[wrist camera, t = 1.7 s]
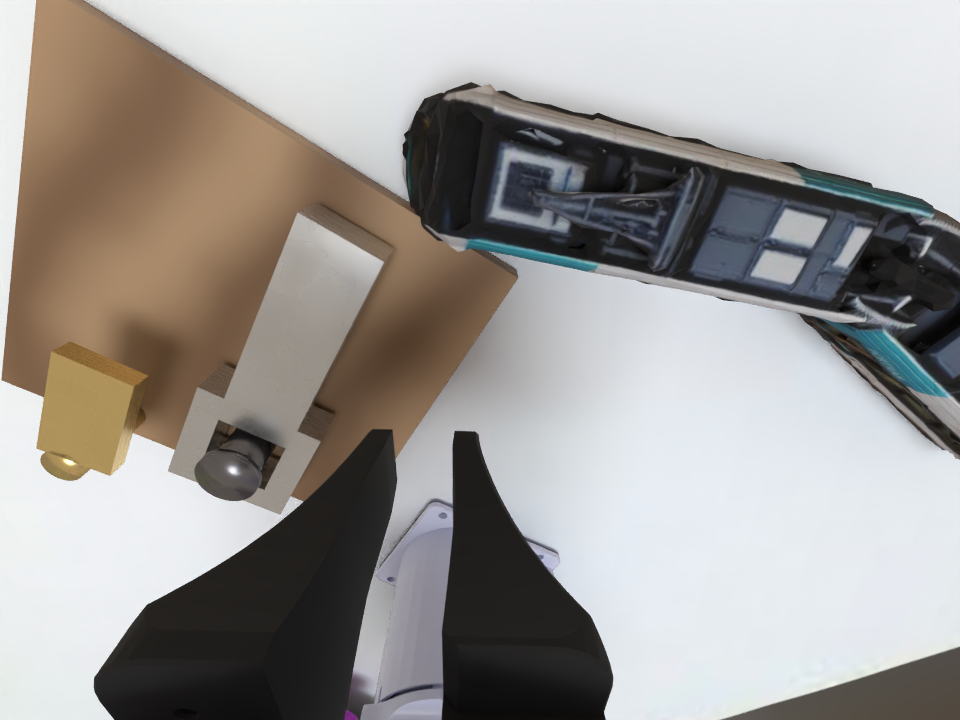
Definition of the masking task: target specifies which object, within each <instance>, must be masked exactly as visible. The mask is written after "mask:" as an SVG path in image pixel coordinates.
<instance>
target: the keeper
mask: <svg viewBox="0 0 960 720" xmlns="http://www.w3.org/2000/svg"><path fill="white" fill-rule="evenodd" d="M148 377H149V376H148V375H146V374H144V373H141V372H139V371H137V370H135V369H132V368H130V367H128V366H125V365H123V364H121V363H119V362H116V361H114V360H112V359H109V358H107V357H105V356H102V355H100V354H98V353H96V352H93V351H91V350H89V349H86V348H84V347H82V346H80V345H77V344H75V343H73V342H68V343H66V344H64V345H62V346H61V347H59V348H57V349H55V350H53V351H51V356H50V362H49V369H48V375H47V382H46V389H45V395H44V402H43V408H42V415H41V422H40V428H39V435H38V442H37V449H39V450H42V451H45V453H44V454H43V455H42V456H41V464H42V466H43V467H44V469H45V470H46V471H47V472H49V473H50V474H51V475H53V476H55V477H57V478H60V479H63V480H69V481H73V480H77V479H79V478H81V477H82V476H83V475H84V474H85V473H86V472H88V471H89V470H90V469H93V470H96V471H99V472H101V473H104V474H107V475H109V476H110V475H112V474H113V473H114V472H115V471H116V470H117V469H118V468H119V467H120V466H121V465H122V464H123V463H124V462H125V458H126V454H127V451H128V447H129V444H130V440H131V437H132V433H133V432H134V431H135V430H136V429H137V428H138V427H140V426H141V425H142V424H143V423H144V422H145V420H146V415H145V412H144V410H143V409H142V408H141V407H140V405H141V402H142V398H143V395H144V391H145V388H146V384H147V381H148Z"/></svg>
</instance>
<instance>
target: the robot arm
mask: <svg viewBox="0 0 960 720" xmlns="http://www.w3.org/2000/svg"><path fill="white" fill-rule="evenodd" d="M396 484H397V473H396V462H395V450H394V438H393V429H372V430H371V431H370V432H369V433H368V434H367V435H366V436H365V437H364V439H363V440H362V441H361V442H360V443H359V445H358V446H357V447H356V448H355V449H354V450H353V452H352V453H351V454H350V455H349V456H348V457H347V458H346V460H345V461H344V462H343V463H342V464H341V465H340V466H339V467H338V468H337V469H336V470H335V471H334V473H333V474H332V475H331V476H330V477H329V478H328V479H327V480H326V481H325V482H324V483H323V484H322V485H321V486H320V487H319V488H318V489H317V490H316V491H315V492H314V493H312V494H311V495H310V496H309V497H308V498H307V499H306V500H305V501H304V502H303V503H302V504H301V505H300V506H298V507H297V508H296V509H295V510H294V511H293V512H291V513H290V514H289V515H288V516H287V517H285V518H284V519H283V520H282V521H281V522H279V523H278V524H277V525H276V526H274V527H273V528H272V529H270V530H269V531H268V532H266V533H265V534H263V535H262V536H261V537H259V538H258V539H257V540H255V541H254V542H252V543H251V544H250V545H248V546H247V547H245V548H244V549H242V550H241V551H239V552H238V553H236V554H235V555H233V556H232V557H230V558H229V559H227V560H226V561H224V562H222V563H221V564H219V565H218V566H216V567H214V568H213V569H211V570H209V571H208V572H206V573H204V574H203V575H201V576H199V577H198V578H196V579H194V580H192V581H190V582H189V583H187V584H185V585H183V586H181V587H179V588H178V589H176V590H174V591H172V592H170V593H168V594H167V595H165V596H163V597H161V598H159V599H157V600H155V601H153V602H151V603H149V604H148V605H146V607H145V608H144V609H143V610H142V612H141V613H140V614H139V616H138V617H137V618H136V619H135V621H134V622H133V623H132V624H131V626H130V627H129V629H128V630H127V632H126V633H125V634H124V636H123V637H122V639H121V640H120V642H119V643H118V645H117V646H116V647H115V649H114V650H113V652H112V653H111V655H110V656H109V657H108V659H107V660H106V662H105V663H104V665H103V666H102V667H101V669H100V670H99V672H98V673H97V675H96V676H95V677H94V690H95V693H96V695H97V697H98V699H99V701H100V702H101V704H102V705H103V706H104V707H105V709H106V710H107V711H108V712H109V714H110V715H111V716H112V717H113V719H114V720H344V719H345V713H346V707H347V701H348V695H349V690H350V684H351V678H352V672H353V667H354V661H355V656H356V651H357V645H358V640H359V635H360V629H361V624H362V619H363V614H364V609H365V604H366V599H367V595H368V591H369V587H370V584H371V580H372V577H373V573H374V570H375V567H376V563H377V560H378V557H379V553H380V550H381V547H382V543H383V540H384V537H385V533H386V530H387V526H388V523H389V520H390V516H391V513H392V507H393V502H394V496H395V490H396ZM442 513H445V514H442ZM559 563H560V558H559V555H558V554H556V553H554V552H552V551H549V550H547V549H545V548H542V547H540V546H538V545H536V544H533V543H531V542H529V541H526V539H525V538H524V536H523V535H522V534H521V532H520V531H519V529H518V527H517V526H516V524H515V523H514V521H513V519H512V518H511V516H510V514H509V512H508V511H507V509H506V507H505V505H504V503H503V501H502V499H501V497H500V496H499V494H498V492H497V489H496V487H495V485H494V483H493V481H492V478H491V476H490V473H489V471H488V469H487V466H486V463H485V460H484V457H483V454H482V451H481V447H480V442H479V435H478V434H477V433H476V432H471V431H455V433H454V439H453V508H451V507H448V506H446V505H444V504H441V503H439V502H433V503H430V504H429V505H428V506H427V508H426V509H425V510H424V512H423V513H422V514H421V515H420V517H419V518H418V519H417V521H416V522H415V523H414V524H413V526H412V527H411V528H410V529H409V531H408V532H407V533H406V535H405V536H404V537H403V538H402V540H401V541H400V542H399V544H398V545H397V546H396V547H395V549H394V550H393V551H392V553H391V554H390V555H389V556H388V558H387V559H386V560H385V561H384V563H383V564H382V565H381V567H380V568H379V569H378V572H377V578H378V579H379V580H381V581H384V582H386V583H389V584H392V585H395V586H396V589H395V594H394V599H393V605H392V610H391V615H390V620H389V626H388V631H387V636H386V642H385V647H384V652H383V657H382V663H381V668H380V673H379V679H378V684H377V689H376V694H375V700H374V704H365V705H364V706H363V709H362V714H361V719H360V720H606V719H605V715H604V710H605V707H606V704H607V701H608V698H609V695H610V692H611V689H612V686H613V674H612V670H611V666H610V662H609V659H608V656H607V653H606V651H605V648H604V645H603V643H602V640H601V638H600V635H599V633H598V631H597V629H596V627H595V624H594V622H593V620H592V618H591V616H590V615H589V614H588V613H587V612H586V611H585V610H584V609H583V608H582V606H581V605H580V604H579V603H578V602H577V601H576V600H575V599H574V598H573V597H572V596H571V595H570V594H569V593H568V592H567V591H566V590H565V589H564V588H563V586H562V585H561V584H560V583H559V582H558V581H557V579H556V578H555V577H554V574H553V569H554V568H555V567H557V566H558V565H559Z"/></svg>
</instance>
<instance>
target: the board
mask: <svg viewBox="0 0 960 720" xmlns="http://www.w3.org/2000/svg"><path fill="white" fill-rule="evenodd" d="M317 203H318V204H320V205H322V206H323V207H325V208H327V209H328V210H330V211H332V212H334V213H335V214H337V215H339V216H340V217H342V218H344V219H346V220H347V221H349V222H351V223H352V224H354V225H356V226H357V227H359V228H361V229H363V230H364V231H366V232H368V233H369V234H371V235H373V236H375V237H376V238H378V239H380V240H381V241H383V242H385V243H386V244H388V245H390V246H392V247H393V248H394V250H393V252H392V254H391V256H390V258H389V260H388V262H387V263H386V265H385V267H384V269H383V271H382V273H381V275H380V277H379V279H378V281H377V283H376V285H375V287H374V289H373V290H372V292H371V294H370V296H369V298H368V300H367V302H366V304H365V306H364V308H363V310H362V312H361V314H360V316H359V317H358V319H357V321H356V323H355V325H354V327H353V329H352V331H351V333H350V335H349V337H348V339H347V341H346V343H345V344H344V346H343V348H342V350H341V352H340V354H339V356H338V358H337V360H336V362H335V364H334V366H333V368H332V370H331V371H330V373H329V375H328V377H327V379H326V381H325V383H324V385H323V387H322V389H321V391H320V393H319V395H318V397H317V398H316V400H315V402H314V404H313V405H314V406H316V407H318V408H320V409H323V410H325V411H327V412H329V413H331V414H333V415H334V417H333V419H332V421H331V423H330V425H329V427H328V429H327V431H326V433H325V434H324V436H323V438H322V440H321V442H320V444H319V446H318V448H317V449H316V451H315V453H314V455H313V456H312V458H311V460H310V462H309V464H308V465H307V467H306V469H305V471H304V473H303V474H302V476H301V478H300V480H299V482H298V483H297V485H296V487H295V489H294V491H293V492H292V494H291V496H292V497H294V498H297V499H299V500H302V501H305V500H306V499H307V498H308V497H309V496H310V495H311V494H312V493H314V492H315V491H316V490H317V489H318V488H319V487H320V486H321V485H322V484H323V483H324V482H325V481H326V480H327V479H328V478H329V477H330V476H331V475H332V474H333V473H334V471H335V470H336V469H337V468H338V467H339V466H340V465H341V464H342V463H343V462H344V461H345V460H346V458H347V457H348V456H349V455H350V454H351V453H352V452H353V450H354V449H355V448H356V447H357V446H358V445H359V443H360V442H361V441H362V440H363V439H364V437H365V436H366V435H367V434H368V433H369V432H370V431H371V430H372V429H393V438H394V450H395V458H396V457H397V455H398V454H399V452H400V451H401V449H402V448H403V447H404V445H405V444H406V442H407V441H408V439H409V438H410V436H411V435H412V433H413V432H414V430H415V429H416V427H417V426H418V424H419V423H420V422H421V420H422V419H423V417H424V416H425V414H426V413H427V411H428V410H429V408H430V407H431V405H432V404H433V402H434V401H435V399H436V398H437V397H438V395H439V394H440V392H441V391H442V389H443V388H444V386H445V385H446V383H447V382H448V380H449V379H450V377H451V376H452V374H453V373H454V372H455V370H456V369H457V367H458V366H459V364H460V363H461V361H462V360H463V358H464V357H465V355H466V354H467V352H468V351H469V349H470V348H471V346H472V345H473V344H474V342H475V341H476V339H477V338H478V336H479V335H480V333H481V332H482V330H483V329H484V327H485V326H486V324H487V323H488V321H489V320H490V319H491V317H492V316H493V314H494V313H495V311H496V310H497V308H498V307H499V305H500V304H501V302H502V301H503V299H504V298H505V296H506V295H507V294H508V292H509V291H510V289H511V288H512V286H513V285H514V283H515V282H516V280H517V279H518V275H517V271H516V269H514V268H513V267H511V266H510V265H508V264H506V263H505V262H503V261H502V260H500V259H498V258H497V257H495V256H494V255H492V254H490V253H489V252H487V251H485V250H481V249H467V250H464V251H460V252H457V251H456V250H455V249H453V248H452V247H450V246H449V245H448V244H447V243H445V242H444V241H437V240H436V239H435V238H434V237H433V236H431V235H430V234H429V233H428V232H427V231H426V230H424V229H423V227H422V225H421V219H420V216H418V215H416V214H415V210H414V208H412V207H411V206H410V203H408V202H407V201H405V200H403V199H402V198H400V197H399V196H397V195H395V194H394V193H392V192H391V191H389V190H387V189H386V188H384V187H382V186H381V185H379V184H378V183H376V182H374V181H373V180H371V179H370V178H368V177H366V176H365V175H363V174H362V173H360V172H358V171H357V170H355V169H353V168H352V167H350V166H349V165H347V164H345V163H344V162H342V161H341V160H339V159H337V158H336V157H334V156H333V155H331V154H329V153H328V152H326V151H325V150H323V149H321V148H320V147H318V146H316V145H315V144H313V143H312V142H310V141H308V140H307V139H305V138H304V137H302V136H300V135H299V134H297V133H296V132H294V131H292V130H291V129H289V128H287V127H286V126H284V125H283V124H281V123H279V122H278V121H276V120H275V119H273V118H271V117H270V116H268V115H267V114H265V113H263V112H262V111H260V110H259V109H257V108H255V107H254V106H252V105H250V104H249V103H247V102H246V101H244V100H242V99H241V98H239V97H238V96H236V95H234V94H233V93H231V92H230V91H228V90H226V89H225V88H223V87H221V86H220V85H218V84H217V83H215V82H213V81H212V80H210V79H209V78H207V77H205V76H204V75H202V74H201V73H199V72H197V71H196V70H194V69H193V68H191V67H189V66H188V65H186V64H184V63H183V62H181V61H180V60H178V59H176V58H175V57H173V56H172V55H170V54H168V53H167V52H165V51H164V50H162V49H160V48H159V47H157V46H155V45H154V44H152V43H151V42H149V41H147V40H146V39H144V38H143V37H141V36H139V35H138V34H136V33H135V32H133V31H131V30H130V29H128V28H127V27H125V26H123V25H122V24H120V23H118V22H117V21H115V20H114V19H112V18H110V17H109V16H107V15H106V14H104V13H102V12H101V11H99V10H98V9H96V8H94V7H93V6H91V5H89V4H88V3H86V2H85V1H83V0H36V10H35V21H34V32H33V43H32V54H31V64H30V75H29V86H28V97H27V108H26V119H25V130H24V141H23V152H22V162H21V173H20V184H19V195H18V206H17V217H16V228H15V239H14V250H13V261H12V271H11V282H10V293H9V304H8V315H7V326H6V337H5V348H4V359H3V369H2V381H5V382H7V383H10V384H12V385H15V386H17V387H20V388H22V389H25V390H27V391H30V392H32V393H35V394H37V395H40V396H42V397H44V395H45V389H46V382H47V375H48V369H49V362H50V356H51V351H53V350H55V349H57V348H59V347H61V346H62V345H64V344H66V343H68V342H73V343H75V344H77V345H80V346H82V347H84V348H86V349H89V350H91V351H93V352H96V353H98V354H100V355H102V356H105V357H107V358H109V359H112V360H114V361H116V362H119V363H121V364H123V365H125V366H128V367H130V368H132V369H135V370H137V371H139V372H141V373H144V374H146V375H148V376H149V377H148V381H147V384H146V388H145V391H144V395H143V398H142V402H141V405H140V407H141V408H142V409H143V410H144V412H145V415H146V420H145V422H144V423H143V424H142V425H141V426H140V427H138V428H137V429H136V430H135V431H134V432H133V433H135V434H137V435H140V436H142V437H145V438H147V439H150V440H152V441H155V442H157V443H160V444H162V445H165V446H167V447H170V448H172V449H176V446H177V444H178V441H179V438H180V435H181V432H182V429H183V427H184V424H185V421H186V418H187V415H188V412H189V410H190V407H191V404H192V401H193V398H194V395H195V393H196V390H197V387H198V386H199V385H200V384H201V383H203V382H204V381H205V380H206V379H207V378H208V377H209V376H210V375H211V374H213V373H214V372H215V371H216V370H217V369H218V368H219V367H220V366H221V365H222V364H225V365H227V366H229V367H232V368H234V369H236V367H237V365H238V362H239V360H240V357H241V355H242V352H243V349H244V347H245V344H246V342H247V339H248V337H249V334H250V332H251V329H252V327H253V324H254V322H255V319H256V316H257V314H258V311H259V309H260V306H261V304H262V301H263V299H264V296H265V294H266V291H267V289H268V286H269V284H270V281H271V278H272V276H273V273H274V271H275V268H276V266H277V263H278V261H279V258H280V256H281V253H282V251H283V248H284V245H285V243H286V240H287V238H288V235H289V233H290V230H291V228H292V225H293V223H294V220H295V218H296V215H297V212H299V211H302V210H304V209H306V208H308V207H311V206H313V205H315V204H317ZM236 428H237V427H234V426H232V425H230V424H229V426H228V428H227V431H226V433H225V436H224V437H225V438H228V437H229V436H230V435H231V434H232V432H233V431H234V430H235V429H236ZM285 449H286V448H284V447H281V446H279V445H277V446H276V448H275V450H274V451H273V453H272V454H271V456H270V457H273V458H275V459H277V460H280V458H281V456H282V454H283V452H284V451H285Z"/></svg>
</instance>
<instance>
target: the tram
mask: <svg viewBox="0 0 960 720" xmlns="http://www.w3.org/2000/svg"><path fill="white" fill-rule="evenodd" d="M404 136H405V138H406V140H405V142H404V144H403V156H404V163H403V175H404V179H405V182H406V185H407V189H408V194H409V200H410V206H411V207H412V208H414V210H415V214H416V215H418V216H420V219H421V225H422V227H423V229H424V230H426V231H427V232H428V233H429V234H430V235H431V236H433V237H434V238H435V239H436V240H437V241H444V242H445V243H447V244H448V245H449V246H450V247H452V248H453V249H455V250H456V251H457V252H460V251H464V250H467V249H481V250H486V251H491V252H497V253H502V254H507V255H512V256H516V257H521V258H525V259H530V260H534V261H539V262H544V263H549V264H554V265H559V266H564V267H569V268H573V269H578V270H582V271H587V272H592V273H597V274H603V275H609V276H615V277H621V278H627V279H633V280H637V281H640V282H642V283H645V284H654V285H658V286H663V287H669V288H675V289H680V290H685V291H691V292H696V293H701V294H706V295H711V296H715V297H717V298H719V299H722V300H727V301H738V302H744V303H748V304H753V305H758V306H763V307H768V308H773V309H779V310H785V311H790V312H796V313H799V314H800V316H801V317H802V318H803V319H804V321H805V322H806V323H807V324H808V325H810V326H811V327H813V328H814V329H815V330H816V331H817V332H818V333H820V334H821V335H822V336H823V338H824V339H825V340H827V341H828V342H829V343H830V344H831V346H832V347H833V348H834V349H835V350H836V351H837V352H838V353H839V354H840V356H841V357H842V358H843V359H844V360H845V361H847V362H848V363H849V364H850V365H851V366H852V367H853V368H854V369H855V370H856V371H857V372H858V373H859V374H860V375H861V376H862V377H863V378H864V379H865V380H866V381H868V382H869V383H870V384H871V386H872V387H873V388H874V389H875V390H877V391H878V392H880V393H881V394H882V395H884V396H885V397H886V398H887V399H888V400H889V401H890V402H891V403H892V404H893V405H894V406H895V407H896V409H897V410H898V411H899V412H900V413H901V414H902V415H903V416H905V417H906V418H907V419H908V420H909V421H910V422H911V423H912V424H913V425H914V426H915V427H916V428H917V429H918V430H919V431H920V432H921V433H922V434H923V435H924V436H925V437H926V438H928V439H929V440H930V441H932V442H933V443H934V444H936V445H937V446H938V447H940V448H941V449H942V450H947V451H949V452H950V453H952V454H953V455H954V457H955V458H956V459H960V223H959V222H958V221H956V220H955V219H953V218H952V217H950V216H948V215H947V214H945V213H943V212H940V211H938V210H936V209H934V208H933V206H932V205H930V204H929V203H927V202H926V201H924V200H922V199H920V198H916V197H913V196H909V195H906V194H902V193H899V192H894V191H889V190H883V189H878V188H873V187H872V184H871V183H868V182H864V181H860V180H856V179H852V178H848V177H844V176H840V175H836V174H831V173H826V172H821V171H816V170H811V169H807V168H805V167H802V166H800V165H797V164H795V163H790V162H777V161H775V160H772V159H771V160H763V159H760V158H756V157H752V156H748V155H744V154H740V153H736V152H732V151H728V150H724V149H721V148H718V147H715V146H713V145H711V144H708V143H706V142H704V141H702V140H699V139H694V138H683V137H671V136H668V135H665V134H662V133H659V132H656V131H653V130H650V129H647V128H643V127H640V126H636V125H633V124H629V123H626V122H623V121H619V120H616V119H613V118H610V117H608V116H605V115H602V114H600V113H596V114H594V115H589V114H583V113H576V112H571V111H568V110H565V109H562V108H559V107H556V106H553V105H549V104H543V103H536V102H530V101H524V100H522V99H520V98H518V97H516V96H514V95H512V94H510V93H508V92H506V91H495V90H494V89H493V87H492V86H491V85H490V84H489V85H485V86H479V85H477V84H474V83H472V82H470V83H468V84H465V85H462V86H459V87H457V88H454V89H451V90H448V91H446V92H445V93H439V94H436V95H433V96H431V97H428V98H425V99H424V101H423V102H422V104H421V106H420V107H419V109H418V111H416V114H415V116H414V119H413V121H412V123H411V125H410V127H409V129H408V131H407V132H406V133H405V134H404Z"/></svg>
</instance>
